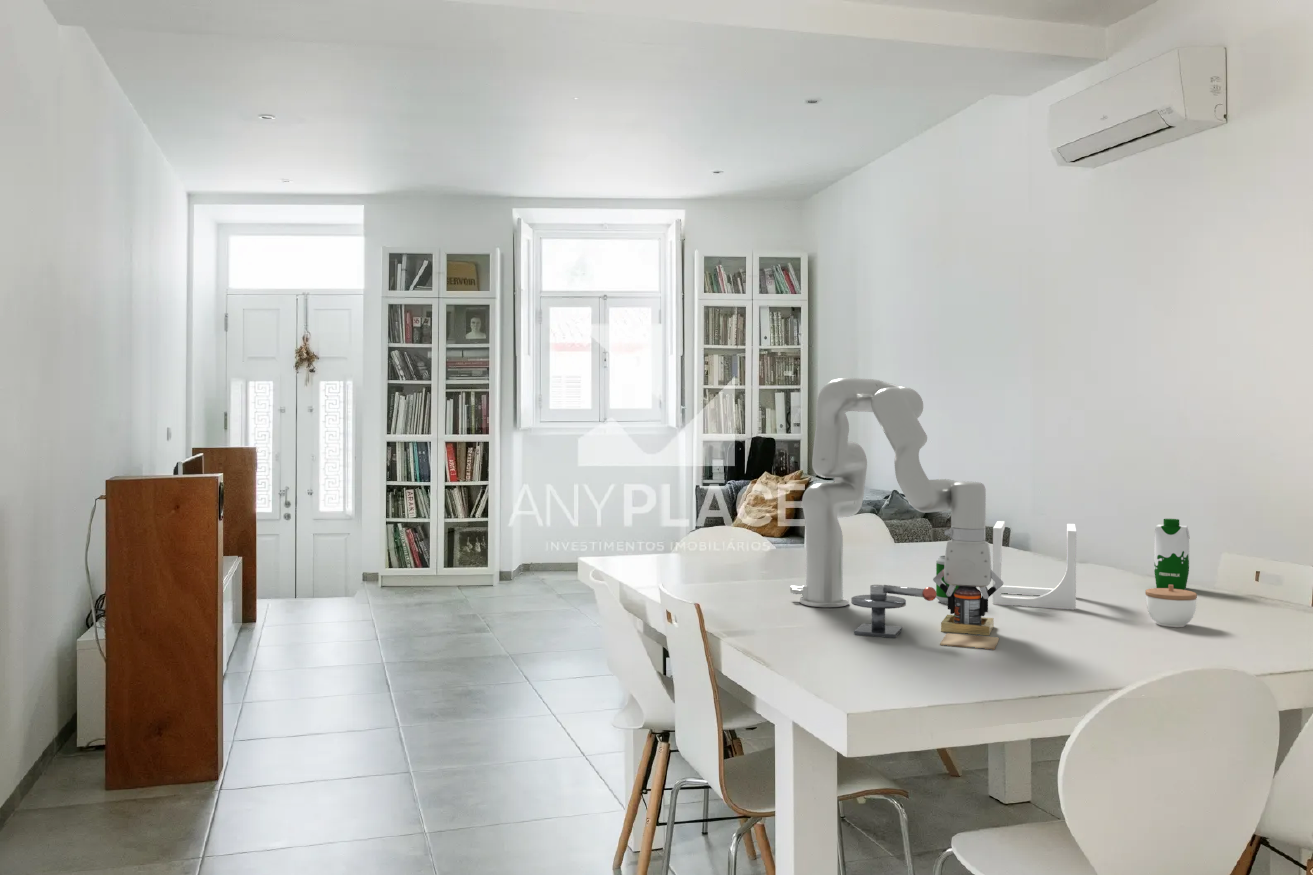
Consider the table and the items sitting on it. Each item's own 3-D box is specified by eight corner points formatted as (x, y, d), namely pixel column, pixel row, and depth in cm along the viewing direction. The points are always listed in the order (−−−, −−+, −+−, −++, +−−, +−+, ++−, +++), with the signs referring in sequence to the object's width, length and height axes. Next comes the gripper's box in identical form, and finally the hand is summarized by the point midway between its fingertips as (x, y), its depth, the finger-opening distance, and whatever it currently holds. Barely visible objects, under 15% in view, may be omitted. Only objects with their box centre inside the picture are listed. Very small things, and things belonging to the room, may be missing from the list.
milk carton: (1152, 589, 281) (1153, 519, 281) (1156, 584, 289) (1156, 516, 288) (1187, 591, 276) (1188, 520, 276) (1190, 587, 284) (1190, 518, 284)
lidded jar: (1192, 621, 234) (1192, 582, 234) (1200, 630, 224) (1201, 589, 224) (1142, 618, 238) (1142, 580, 238) (1148, 627, 228) (1149, 587, 228)
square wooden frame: (941, 631, 223) (941, 622, 223) (947, 623, 232) (947, 614, 232) (989, 635, 219) (989, 626, 219) (993, 626, 228) (993, 618, 228)
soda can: (967, 605, 255) (967, 559, 255) (937, 604, 257) (937, 558, 257) (964, 600, 263) (964, 555, 263) (935, 599, 264) (935, 554, 264)
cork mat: (939, 645, 209) (939, 643, 209) (946, 635, 219) (946, 633, 219) (994, 649, 205) (994, 648, 205) (998, 639, 215) (998, 637, 215)
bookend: (992, 604, 257) (993, 528, 257) (996, 592, 276) (997, 521, 276) (1075, 609, 250) (1076, 531, 250) (1074, 597, 268) (1074, 523, 268)
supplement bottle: (950, 626, 228) (950, 578, 228) (974, 626, 229) (975, 577, 229) (960, 632, 222) (960, 582, 222) (985, 631, 223) (985, 581, 223)
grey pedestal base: (854, 634, 220) (854, 607, 219) (862, 626, 228) (862, 601, 228) (894, 638, 216) (895, 610, 216) (902, 630, 224) (902, 604, 224)
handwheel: (841, 604, 221) (841, 582, 221) (866, 597, 230) (866, 575, 230) (924, 614, 209) (924, 591, 209) (946, 606, 218) (946, 584, 218)
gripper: (927, 535, 225) (926, 614, 226) (1006, 539, 218) (1006, 620, 219) (931, 532, 232) (931, 608, 232) (1009, 535, 225) (1008, 614, 225)
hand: (967, 613), depth 226 cm, fingers closed on supplement bottle, 6 cm apart
